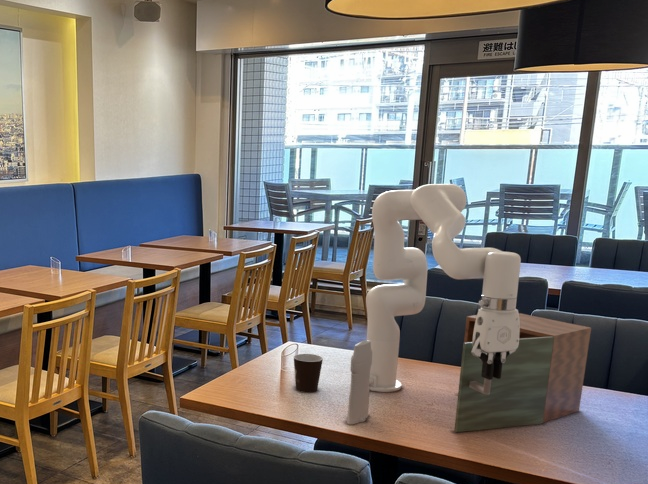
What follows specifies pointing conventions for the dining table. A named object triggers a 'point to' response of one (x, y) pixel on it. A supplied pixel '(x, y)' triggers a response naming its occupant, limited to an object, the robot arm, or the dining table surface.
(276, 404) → the dining table surface
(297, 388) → the coffee mug
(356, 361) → the tall pale column
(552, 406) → the cupboard
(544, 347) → the cupboard door
